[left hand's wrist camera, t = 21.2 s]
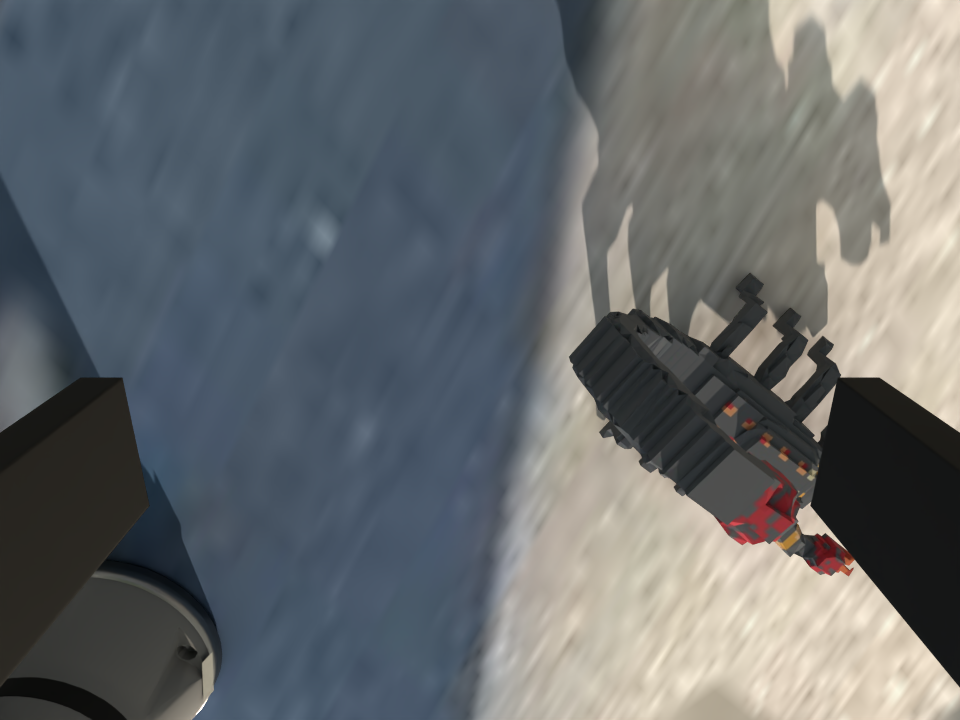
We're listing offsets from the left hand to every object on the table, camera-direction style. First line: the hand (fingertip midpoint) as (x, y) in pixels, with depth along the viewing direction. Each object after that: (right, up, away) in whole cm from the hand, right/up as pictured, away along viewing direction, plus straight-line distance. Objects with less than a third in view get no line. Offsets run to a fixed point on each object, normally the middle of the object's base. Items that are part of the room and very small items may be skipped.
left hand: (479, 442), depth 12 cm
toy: (+16, -1, +30) cm, 34 cm away
